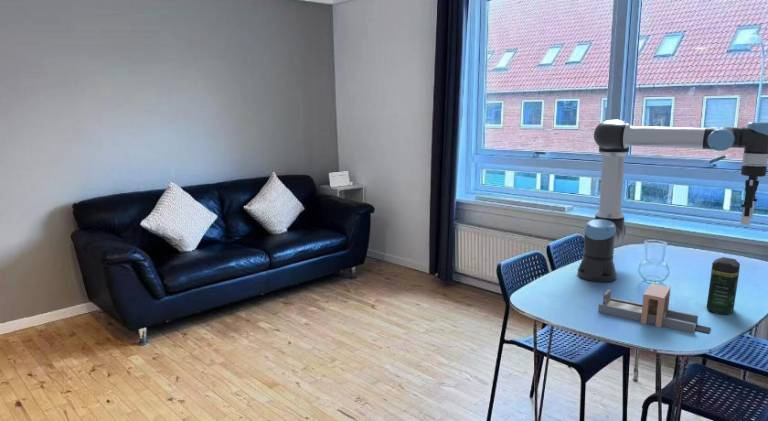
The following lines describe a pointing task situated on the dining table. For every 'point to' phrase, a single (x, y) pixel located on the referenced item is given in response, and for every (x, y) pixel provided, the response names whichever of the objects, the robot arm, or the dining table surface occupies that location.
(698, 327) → the dark grey flat block
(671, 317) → the rail
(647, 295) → the tunnel
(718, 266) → the coffee jar
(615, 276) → the robot arm
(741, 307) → the dining table surface
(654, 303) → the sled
